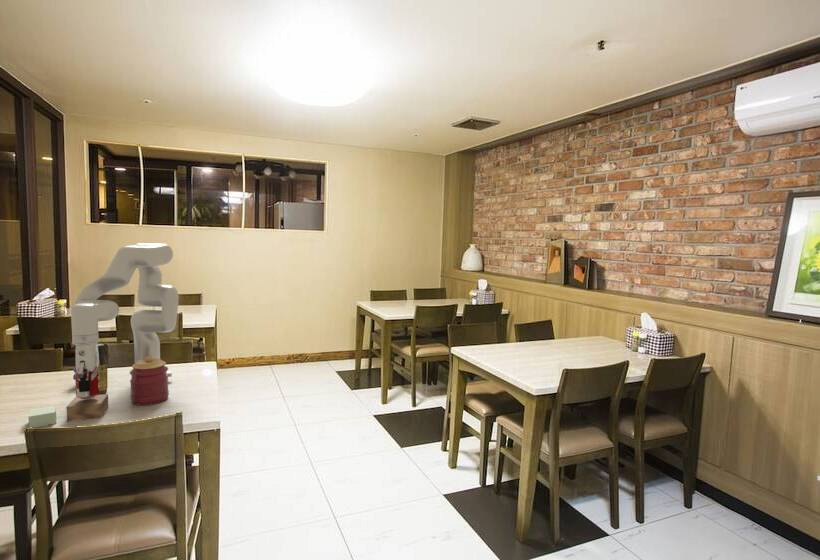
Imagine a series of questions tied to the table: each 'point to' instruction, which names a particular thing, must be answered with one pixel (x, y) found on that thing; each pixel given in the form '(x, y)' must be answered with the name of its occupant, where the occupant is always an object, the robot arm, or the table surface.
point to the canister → (149, 381)
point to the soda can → (93, 385)
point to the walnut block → (87, 407)
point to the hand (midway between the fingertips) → (87, 387)
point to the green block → (42, 416)
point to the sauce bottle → (102, 370)
